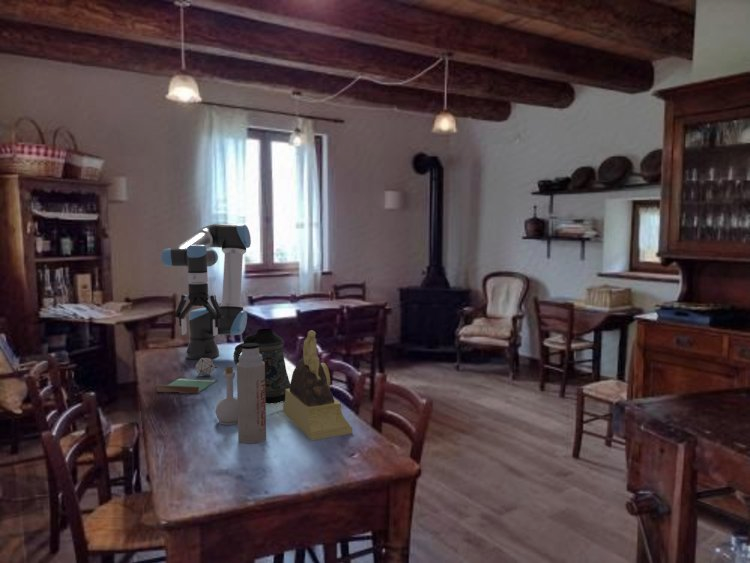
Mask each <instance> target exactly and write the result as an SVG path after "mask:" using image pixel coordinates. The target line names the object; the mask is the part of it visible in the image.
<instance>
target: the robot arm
mask: <svg viewBox="0 0 750 563" xmlns="http://www.w3.org/2000/svg"><path fill="white" fill-rule="evenodd" d="M251 238H252V237H251V233H250V229H249V227H248V226H247V225H246V224H243V223H238V222H237V223H212V224H209V225H206V226H203V227H201V228H200V229H198V230H196V231H195V232H194V233H193V235H192V236H191V237H190V238H188V239H187V240H185V241H183V242H182V243H181V244H179V245H177V246H175V247H174V248H164V249H163V250H162V252H161V254H160V256H161V257H160V259H161V263H162V264H163V266H164V267H172V268H173V267H187V276H188V277H187V278H188V279H187V282H188V283H189V284H188V287H187V288H188V294H186V293H184V294H182V295H181V297H180V302H179V304H178V306H177V309H176V311H175V313H174V318H177V319H178V320H179V327H181V335H182V336H184V335H186V334H187V332H189V333H188V334H189V341H188V345H187V349H186V353H185V356H186V359H188V358H189V360H200V359H201V358H211V357H212V358H211V359H214V358H217V357H219V356H220V349H219V347H218V344H217V342H216V336H222V335H223V336H239V335H242V334H243V333H244V332H245V330H246V326H247V323H248V322H247V321H248V314H247V311H246V310H244V306H243V305H242V304H241V298H242V278H243V277H242V276H243V259H244V258H243V257H244V256H243V255H245V254H246V253H247V249H249V248H250V247H251V243H252V239H251ZM213 248H220V249H221V252H223V254H224V260H223V276H222V278H223V279H222V294H221V304H219V303H218V300H217V296H216V294H212V295H209V284H208V281H209V280H208V279H209V278H208V267H212V266H214V265H215V264H216V263H217V262H218V259H219V255H218V253H217V251H216V250H215V249H213ZM187 300H189V302H188V304H187V305H186V302H187ZM209 301H210V302H209ZM210 303H211V304H210ZM211 305H212V306H211ZM185 306H186V307H185ZM193 306H194V307H197V306H198V307H201V308H196V309H192V308H193ZM191 309H192V310H191ZM187 314H188V330H189V331H187V318H186V315H187ZM200 356H201V358H200Z"/></svg>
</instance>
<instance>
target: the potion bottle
mask: <svg viewBox="0 0 750 563" xmlns="http://www.w3.org/2000/svg"><path fill="white" fill-rule="evenodd" d="M224 370H225V371H224V372H223V373H222V374H223V378H224V379H225V389H226V392H225V394H226V395H225V398H221V400H219V402H218V403H217V405H216V408H215V411H214V412H215V414H216V418H217V420H218V422H220V423H219V424H220V425H222V424H223V425H224V426H233V424H235V425H238V404H237V396H236V397H234V379H235V377H236V371H235V370H234V367H233V366H227V367H225V368H224Z"/></svg>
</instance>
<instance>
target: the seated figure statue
mask: <svg viewBox="0 0 750 563" xmlns="http://www.w3.org/2000/svg"><path fill="white" fill-rule="evenodd" d="M316 335H317V333H316V331H314V330H309V331H308V332H307V336H306V338H305V339H304V341H303V348H302V349H303V350H302V352H303V355H302V356H303V357H302V358H301V359H299V360H298V361H297V364H296V366H295V368H294V370H292V371H293V372H292V373H291V374H292V376H291V380H290V389H285V392H286V394H285V401H284V403H283V405H282V406H283V407H282V413H283V414H284V415H286V417H287V418H289V419H290V421H291V422H292V423H293V424H294V425H296V427H298V428H299V430H301V432H303V434H304V435H305V436H306V437H308V438H309V439H310V440H311V441H316V440H322V439H328V438H333V437H340V436H344V435H350V434H353V426H351V424H350V423H349V422H348V421H347V420H346V418H345V416H344V415H343V412H342V403H341V402H340V401H338V400H337V399H336V398H334V395H333V392H332V391H331V390H330V389H331V377H330V376H331V374H330V371H329V367H328V366H327V364H326V363H325V362H320V358H319V357H318V354H317V347H318V346H317V339H316Z"/></svg>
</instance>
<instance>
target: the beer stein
mask: <svg viewBox="0 0 750 563" xmlns="http://www.w3.org/2000/svg"><path fill="white" fill-rule="evenodd" d="M246 343H257V344H259V347H258V348H259V353H260V354H261V355H262V358H263V359H262V361H263V362H264V363H265V398H266V405H269V404H270V405H271V403H273V404H279V403H282V401H283V402H285V394H286V392H285V389H290V384H291V380H290V379H289V376H288V371H287V368H286V360H285V356H284V350H283V348H284V344H285V341H284V339H283V338H282V337H281V336H279V334H277V333H275V332H274V331H273V329H272V328H260V329H257V332H255V333H252V334H248V335H246V336H244V337H243V342H241V343H239V344H237V345H236V346H235V347H234V352H233V361H234V364H235V367H237V363H239V359H238V358H239V356H240V355H241V354H242V348H241V345H242V344H246ZM278 402H279V403H278Z"/></svg>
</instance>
